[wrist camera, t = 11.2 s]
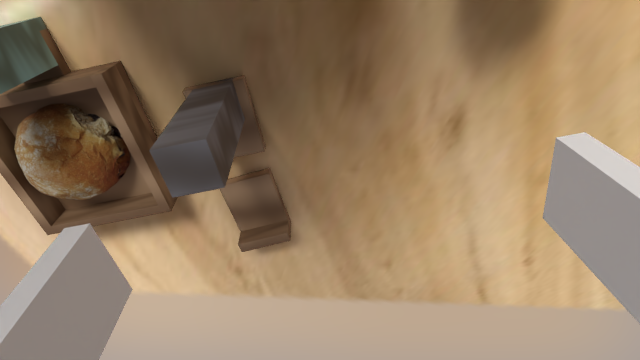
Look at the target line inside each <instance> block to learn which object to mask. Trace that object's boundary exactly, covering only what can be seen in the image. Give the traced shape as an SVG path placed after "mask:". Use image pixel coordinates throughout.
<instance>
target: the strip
mask: <svg viewBox="0 0 640 360" xmlns="http://www.w3.org/2000/svg"><path fill="white" fill-rule="evenodd" d="M219 189H220V191H221V193H222V195H223V197H224V199H225V201H226V203H227V205H228V207H229V209H230V211H231V213H232V215H233V217H234V219H235V221H236V223H237V225H238V227H239V229H240V231H241V233H240V238H239V243H238V245H239V247H240V249H241V251H242V252H245V251H249V250H253V249H257V248H261V247H265V246H269V245H273V244H277V243H281V242H285V241H290V238H291V221H290V218H289V215H288V213H287V210H286V208H285V205H284V203H283V200H282V198H281V195H280V193H279V190H278V188H277V185H276V183H275V180H274V178H273V175H272V173H271V170H270V168H269V169H265V170H261V171H257V172H253V173H250V174H246V175H242V176H238V177H234V178H231V179H227V182H226V186H225V188H219Z"/></svg>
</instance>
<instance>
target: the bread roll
mask: <svg viewBox="0 0 640 360" xmlns="http://www.w3.org/2000/svg"><path fill="white" fill-rule="evenodd" d="M14 150H15V153H16V156H17V159H18V163H19V165H20V167H21V169H22V170H23V173H24V175H25V177H26V179H27V180H28V181H29V183H30V184H31V185H32V186H34V187H35V188H36V189H37V190H38V191H40V192H42V193H44V194H46V195H50V196H53V197H56V198H61V199H76V200H87V199H91V198H93V197H95V196H98V195H99V194H102V193H104V192H106V191H108V190H109V189H110V188H111V187H112V186H114V185H115V184H116V183H117V182H118V181H119V180H120V179H121V178H122V177H123V175H124V174H125V173H126V170H127V168H128V167H129V164H130V154H129V150H128V147H127V145H126V143H125V141H124V140H123V138H122V136H121V134H120V132H119V130H118V128H116V127H115V126H109V123H108V122H107V121H106V120H105V119H103V118H101V117H99V116H97V115H95V114H87V113H85V112H84V111H83V110H82V109H80V108H78V107H76V106H71V105H67V104H51V105H47V106H45V107H42V108H40V109H39V110H38V111H37V112H35V113H32V114H31V115H29V116H27V117H26V118H25V119H24V120H23V121H22V122H21V123H20V124H19V126H18V129H17V134H16V141H15V148H14Z"/></svg>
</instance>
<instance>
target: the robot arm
mask: <svg viewBox="0 0 640 360" xmlns="http://www.w3.org/2000/svg"><path fill="white" fill-rule="evenodd" d="M543 219H544V220H545V221H546V222H547V223H548V224H549V225H550V226H551V227H552V228H553V230H554V231H555V232H556V233H557V234H558V235H559V236H560V237H561V238H562V239H563V241H564V242H565V243H566V244H567V245H568V246H569V247H570V248H571V249H572V250H573V251H574V253H575V254H576V255H577V256H578V257H579V258H580V259H581V260H582V261H583V262H584V263H585V265H586V266H587V267H588V268H589V269H590V270H591V271H592V272H593V273H594V274H595V276H596V277H597V278H598V279H599V280H600V281H601V282H602V283H603V284H604V285H605V286H606V288H607V289H608V290H609V291H610V292H611V293H612V294H613V295H614V296H615V297H616V298H617V300H618V301H619V302H620V303H621V304H622V305H623V306H624V307H625V308H626V309H627V311H628V312H629V313H630V314H631V315H632V316H633V317H634V318H635V319H636V320H637V321H638V322H639V324H640V167H639V166H637V165H636V164H634V163H632V162H631V161H629V160H628V159H626V158H625V157H623V156H622V155H620V154H618V153H617V152H615V151H614V150H612V149H611V148H609V147H607V146H606V145H604V144H603V143H601V142H600V141H598V140H596V139H595V138H593V137H592V136H590V135H589V134H587V133H585V132H584V133H579V134H573V135H568V136H562V137H557V138H556V142H555V147H554V153H553V159H552V165H551V171H550V177H549V183H548V189H547V195H546V201H545V207H544V213H543ZM131 291H132V288H131V286H130V285H129V283H128V282H127V280H126V278H125V277H124V275H123V274H122V272H121V271H120V269H119V268H118V266H117V265H116V263H115V261H114V260H113V258H112V257H111V255H110V254H109V252H108V251H107V249H106V247H105V246H104V244H103V243H102V241H101V240H100V238H99V237H98V235H97V234H96V232H95V230H94V229H93V227H92V226H91V224H90V223H89V224H84V225H79V226H73V227H68V228H64V229H63V230H62V232H61V233H60V234H59V235H58V237H57V238H56V239H55V240H54V241H53V243H52V244H51V245H50V246H49V247H48V249H47V250H46V251H45V252H44V253H43V255H42V256H41V257H40V258H39V260H38V261H37V262H36V263H35V264H34V266H33V267H32V268H31V269H30V270H29V272H28V273H27V274H26V275H25V277H24V278H23V279H22V280H21V281H20V283H19V284H18V285H17V286H16V288H15V289H14V290H13V291H12V292H11V294H10V295H9V296H8V297H7V298H6V300H5V301H4V302H3V303H2V304H1V306H0V360H99V358H100V356H101V354H102V352H103V350H104V348H105V346H106V344H107V341H108V339H109V337H110V335H111V333H112V331H113V329H114V327H115V325H116V323H117V320H118V318H119V316H120V314H121V312H122V310H123V308H124V306H125V304H126V301H127V300H128V298H129V295H130V293H131Z"/></svg>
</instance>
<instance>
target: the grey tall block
mask: <svg viewBox="0 0 640 360" xmlns="http://www.w3.org/2000/svg"><path fill="white" fill-rule="evenodd" d="M183 94H184V96H185V99H186V100H185V101H184V102H183V104H182V105H181V107H180V108H179V109H178V111H177V112H176V114H175V115H174V116H173V118H172V119H171V121H170V122H169V123H168V125H167V126H166V128H165V129H164V130H163V132H162V133H161V135H160V136H159V137H158V139H157V140H156V142H155V143H154V144H153V146H152V147H151V149H150V150H149V151H150V153H151V155H152V157H153V159H154V161H155V163H156V165H157V167H158V169H159V171H160V173H161V175H162V177H163V180H164V182H165V184H166V186H167V188H168V190H169V192H170V194H171V196H172V198H174V197H179V196H184V195H189V194H194V193H199V192H204V191H209V190H214V189H219V188H225V186H226V182H227V179H228V175H229V172H230V168H231V165H232V162H233V158H234V157H239V156H244V155H249V154H254V153H259V152H264V151H265V147H266V146H265V142H264V139H263V136H262V133H261V129H260V126H259V123H258V120H257V116H256V113H255V110H254V106H253V103H252V100H251V97H250V93H249V90H248V87H247V83H246V80H245V77H244V75H243V76H239V77H234V78H229V79H224V80H220V81H215V82H210V83H206V84H201V85H196V86H192V87H187V88H185V89H184V91H183Z"/></svg>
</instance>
